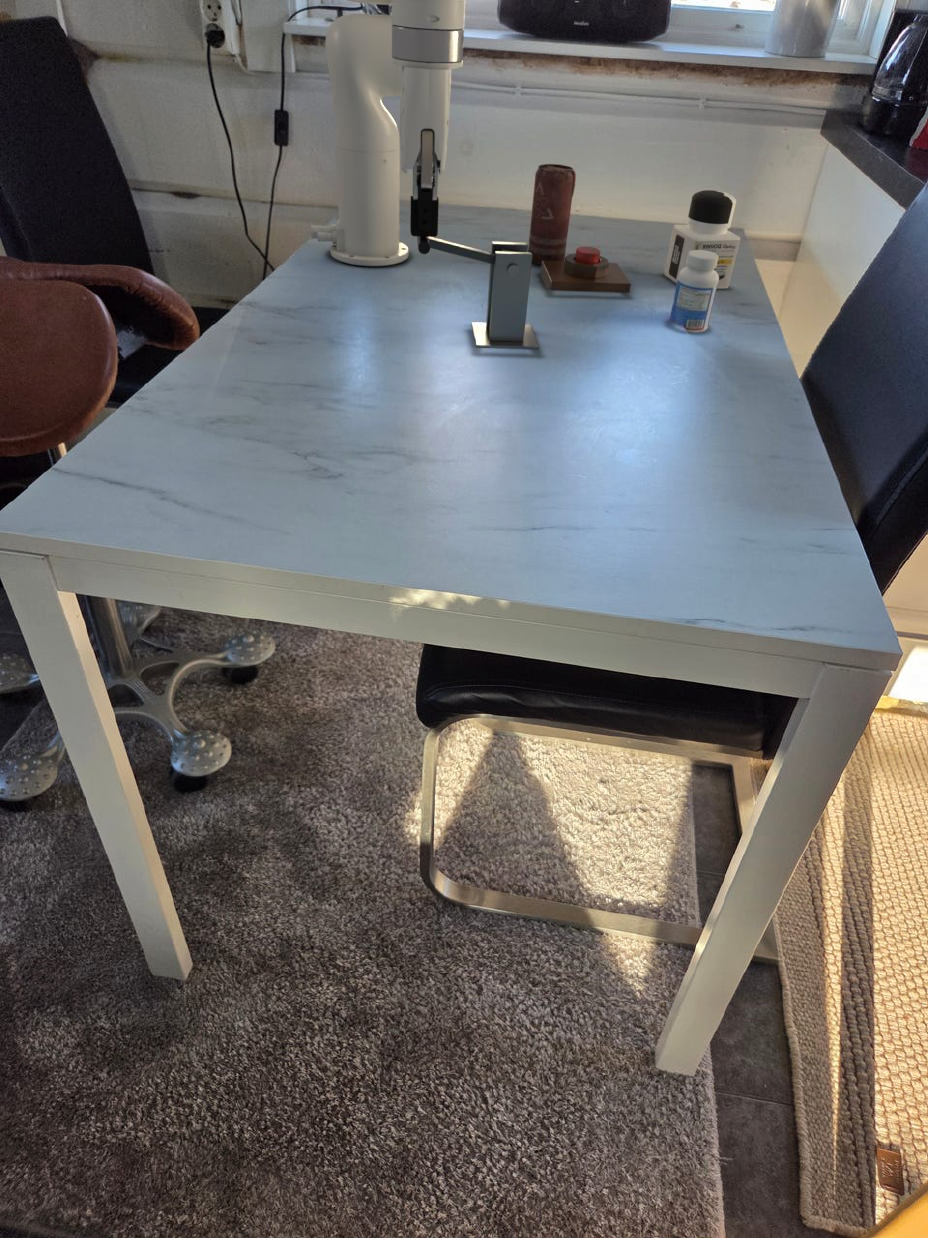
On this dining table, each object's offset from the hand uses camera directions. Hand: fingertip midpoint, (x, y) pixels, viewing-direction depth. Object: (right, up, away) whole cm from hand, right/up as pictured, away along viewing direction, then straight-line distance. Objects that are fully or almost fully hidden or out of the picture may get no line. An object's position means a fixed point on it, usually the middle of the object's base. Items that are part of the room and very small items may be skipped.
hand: (423, 234), depth 99 cm
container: (+42, +8, +34) cm, 54 cm away
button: (+23, +8, +27) cm, 37 cm away
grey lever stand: (+10, -10, +9) cm, 17 cm away
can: (+18, +13, +38) cm, 44 cm away
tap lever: (+5, -2, +3) cm, 6 cm away
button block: (+23, +6, +29) cm, 38 cm away
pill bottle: (+36, -5, +18) cm, 41 cm away
